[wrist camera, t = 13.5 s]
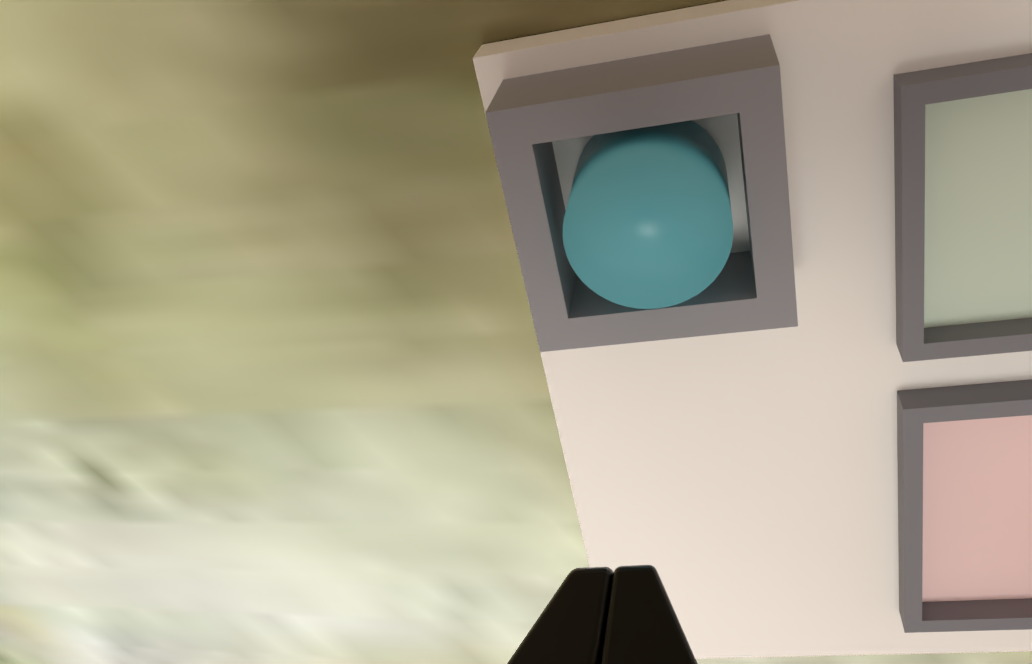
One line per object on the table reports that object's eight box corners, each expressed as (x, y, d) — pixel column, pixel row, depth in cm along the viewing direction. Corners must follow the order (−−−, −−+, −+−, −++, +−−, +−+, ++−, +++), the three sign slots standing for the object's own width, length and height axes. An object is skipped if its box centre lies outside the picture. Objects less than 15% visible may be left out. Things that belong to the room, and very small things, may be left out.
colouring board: (1507, -140, 15) (1674, -119, 12) (1296, 612, 23) (1371, 717, 21) (481, 44, 19) (451, 89, 16) (612, 632, 27) (606, 722, 25)
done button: (719, 98, 18) (724, 142, 16) (734, 241, 19) (740, 299, 17) (562, 123, 18) (548, 168, 16) (588, 259, 20) (578, 317, 18)
